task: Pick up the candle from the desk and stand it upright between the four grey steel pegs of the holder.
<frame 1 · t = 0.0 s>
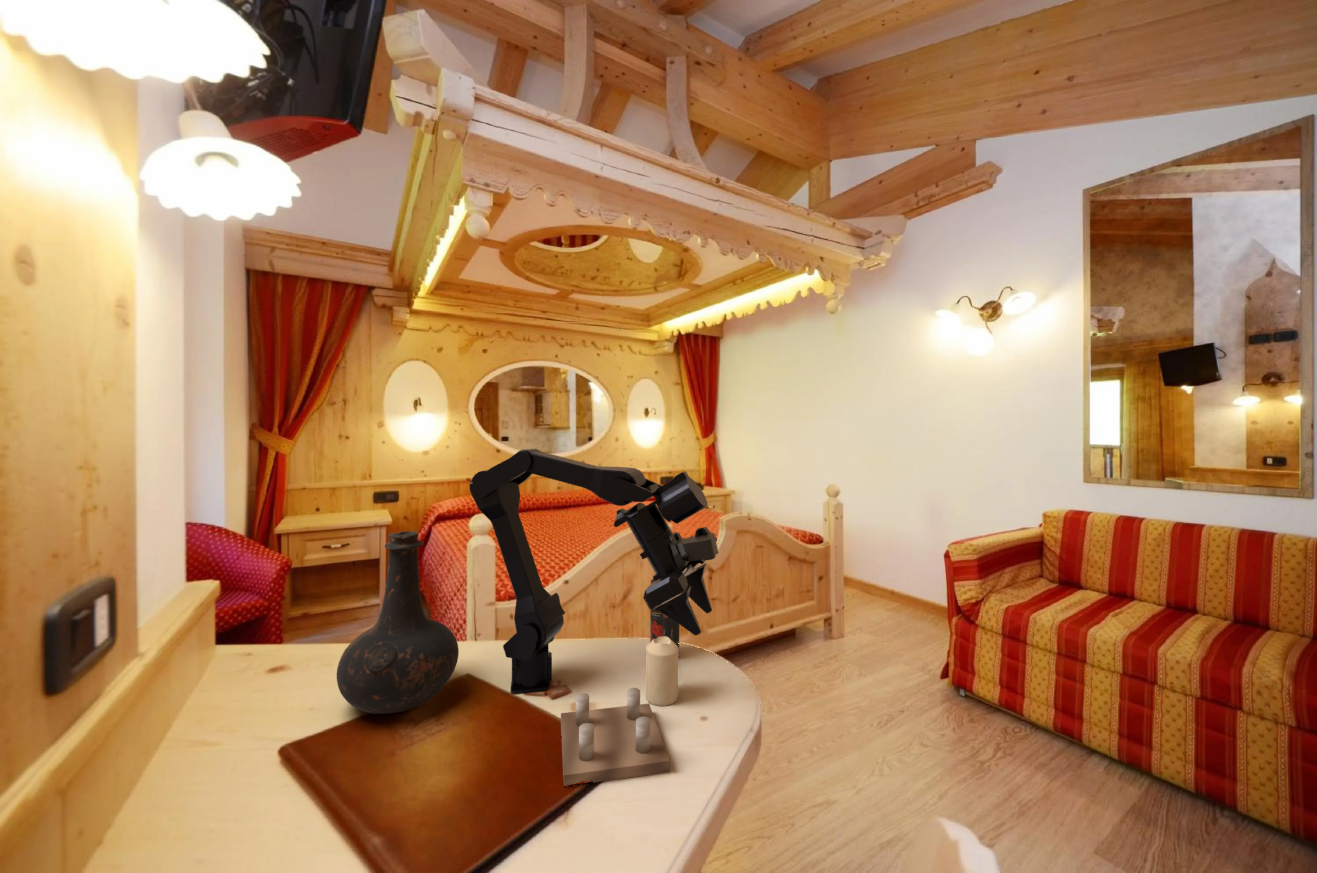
hand: (704, 622, 81), 15 cm above the table, tool tilted 35°, fingers open, 9 cm apart
glass bottle: (400, 700, 84), on the table
deodorant: (664, 656, 101), on the table
peg holder: (611, 745, 73), on the table
candle: (661, 698, 86), on the table
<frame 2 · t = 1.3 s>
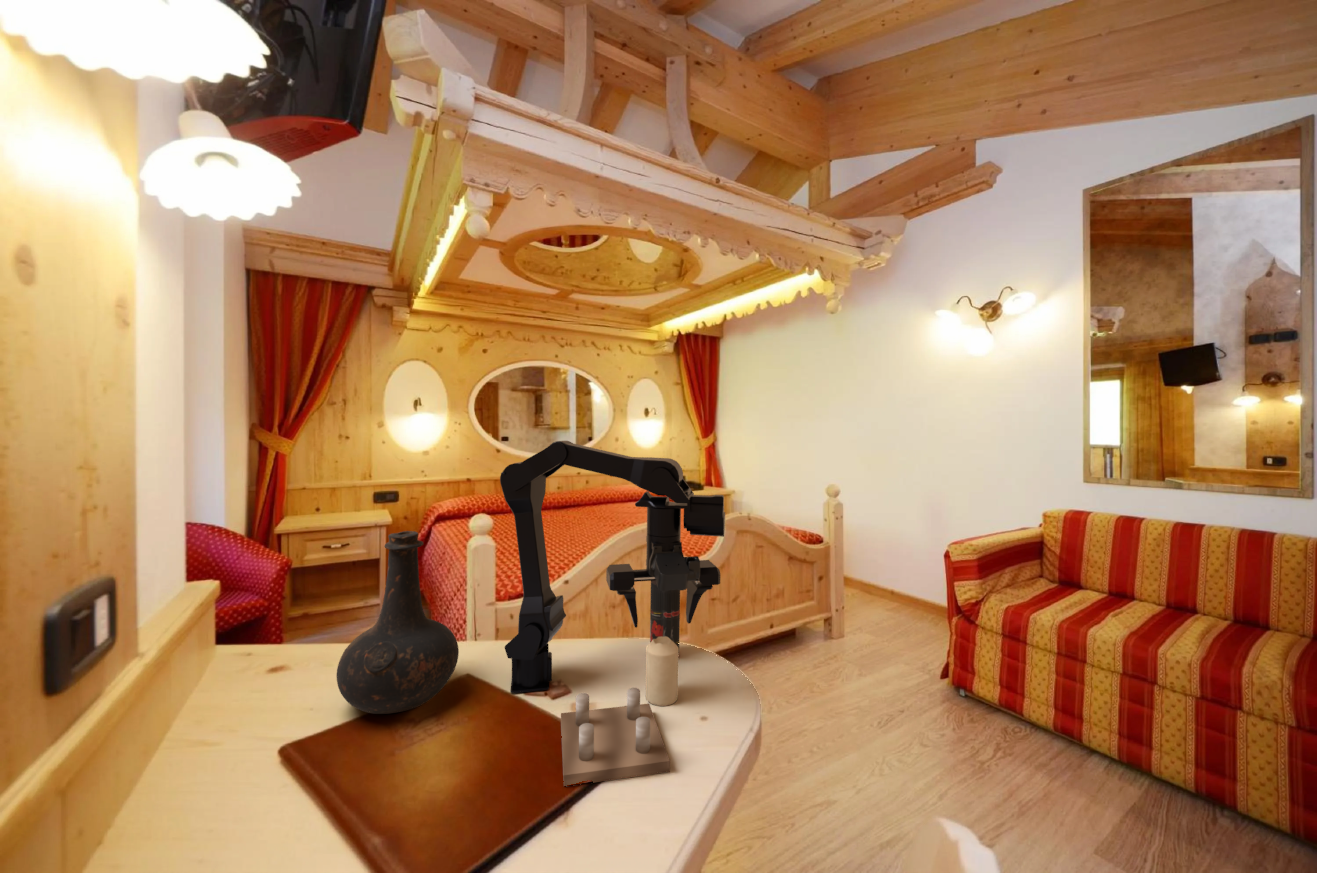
hand: (662, 624, 85), 13 cm above the table, tool pointing down, fingers open, 9 cm apart
nothing on the table moved.
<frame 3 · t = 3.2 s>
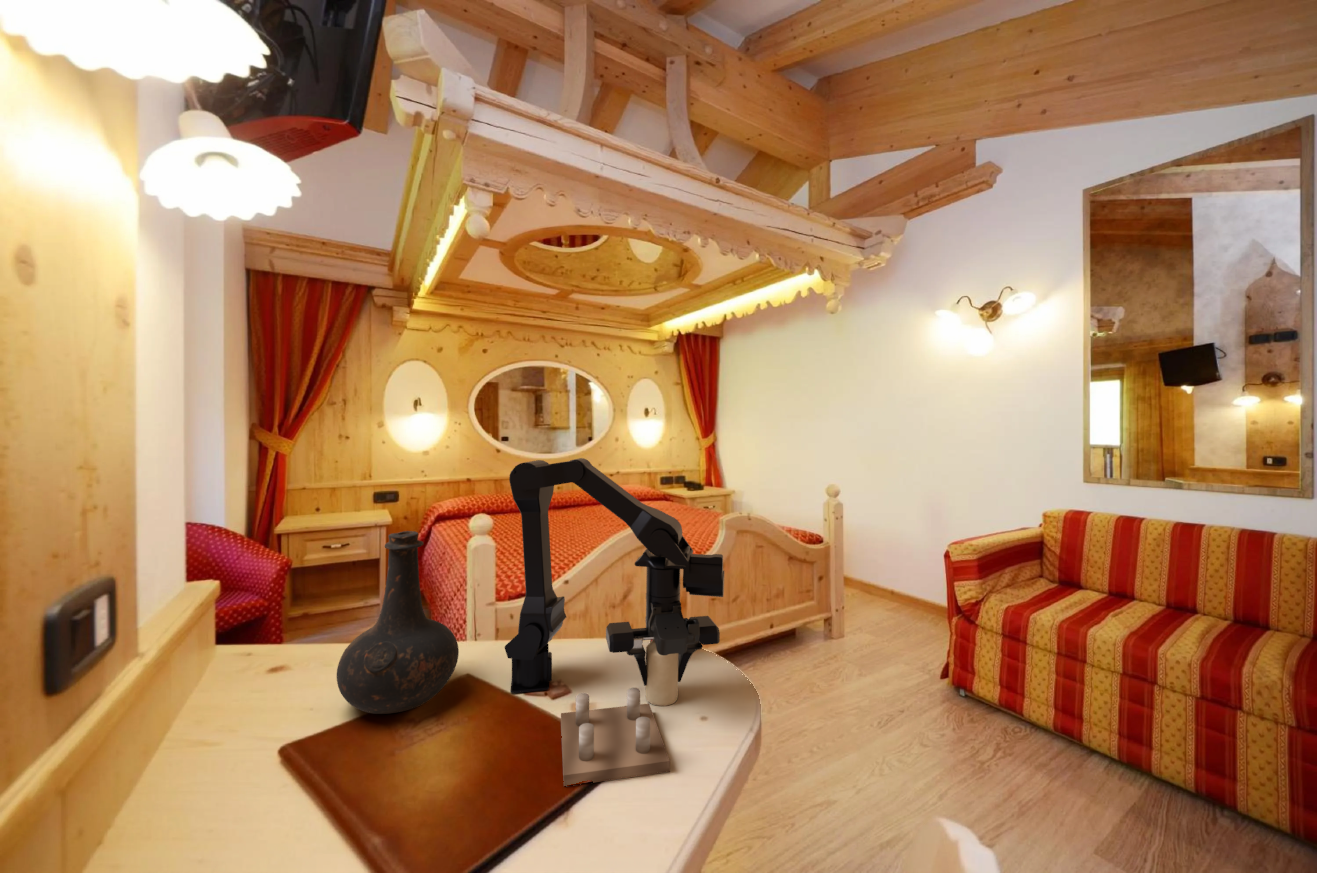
hand: (661, 682, 86), 3 cm above the table, tool pointing down, fingers closed on candle, 5 cm apart
candle: (661, 698, 86), on the table, touching gripper
everything else where it was.
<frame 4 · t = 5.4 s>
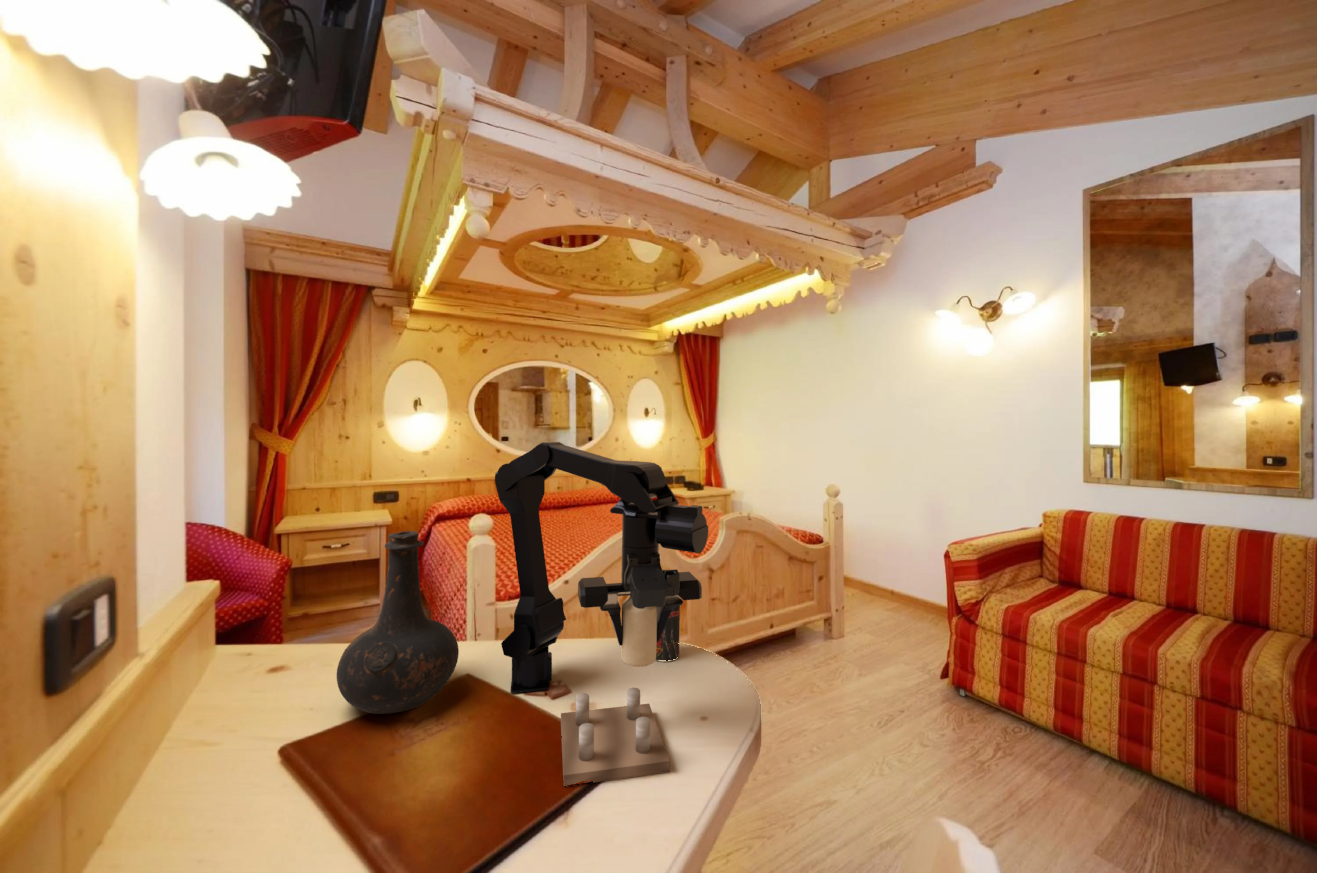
hand: (638, 642, 79), 12 cm above the table, tool pointing down, fingers closed on candle, 5 cm apart
candle: (638, 660, 79), point 10 cm above the table, touching gripper
everything else where it was.
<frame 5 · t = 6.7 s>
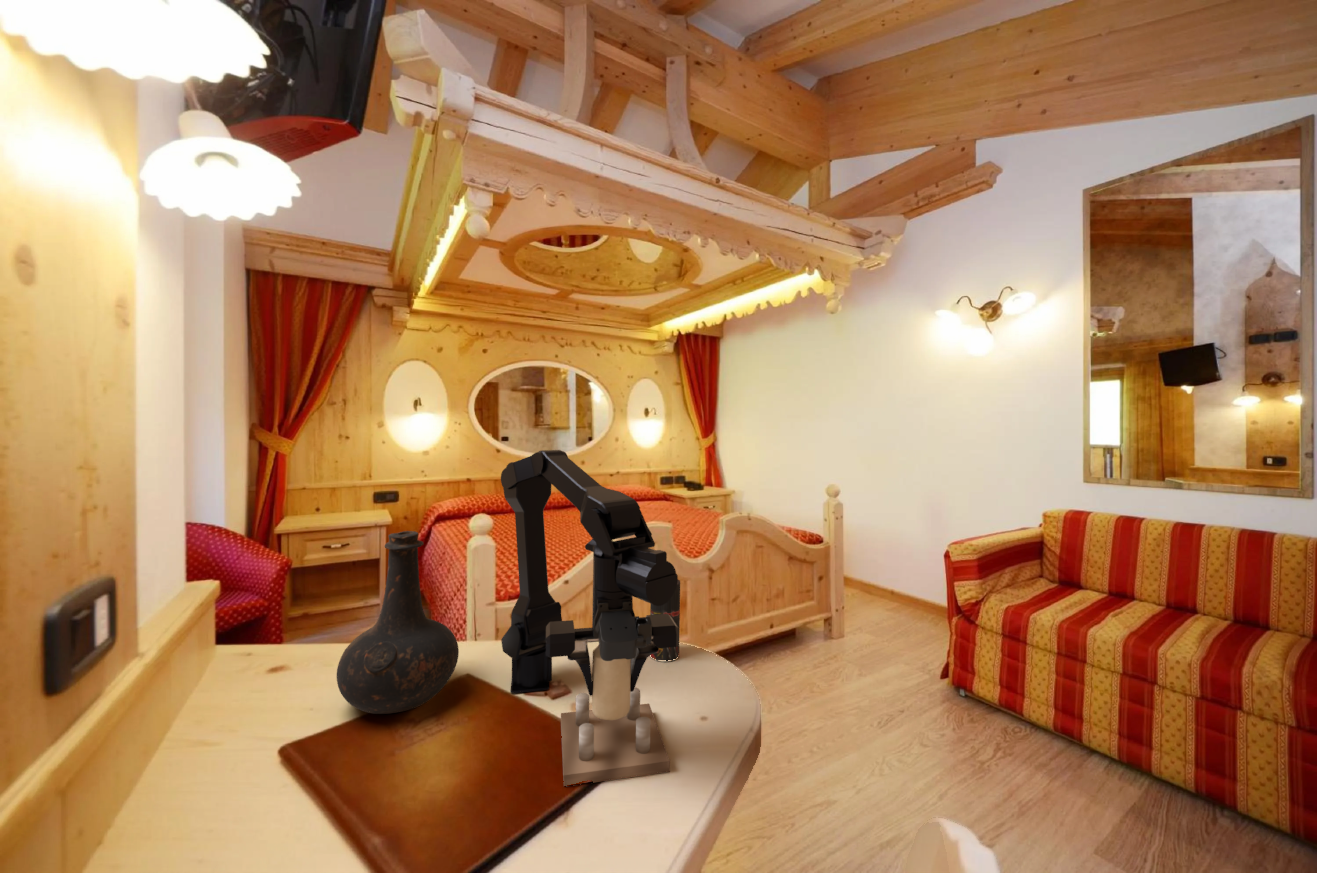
hand: (611, 692, 73), 8 cm above the table, tool pointing down, fingers closed on candle, 5 cm apart
candle: (611, 711, 73), point 5 cm above the table, touching gripper
everything else where it was.
when the fingers open (6 cm above the table, at t = 7.9 s): candle drops 2 cm, resting on peg holder.
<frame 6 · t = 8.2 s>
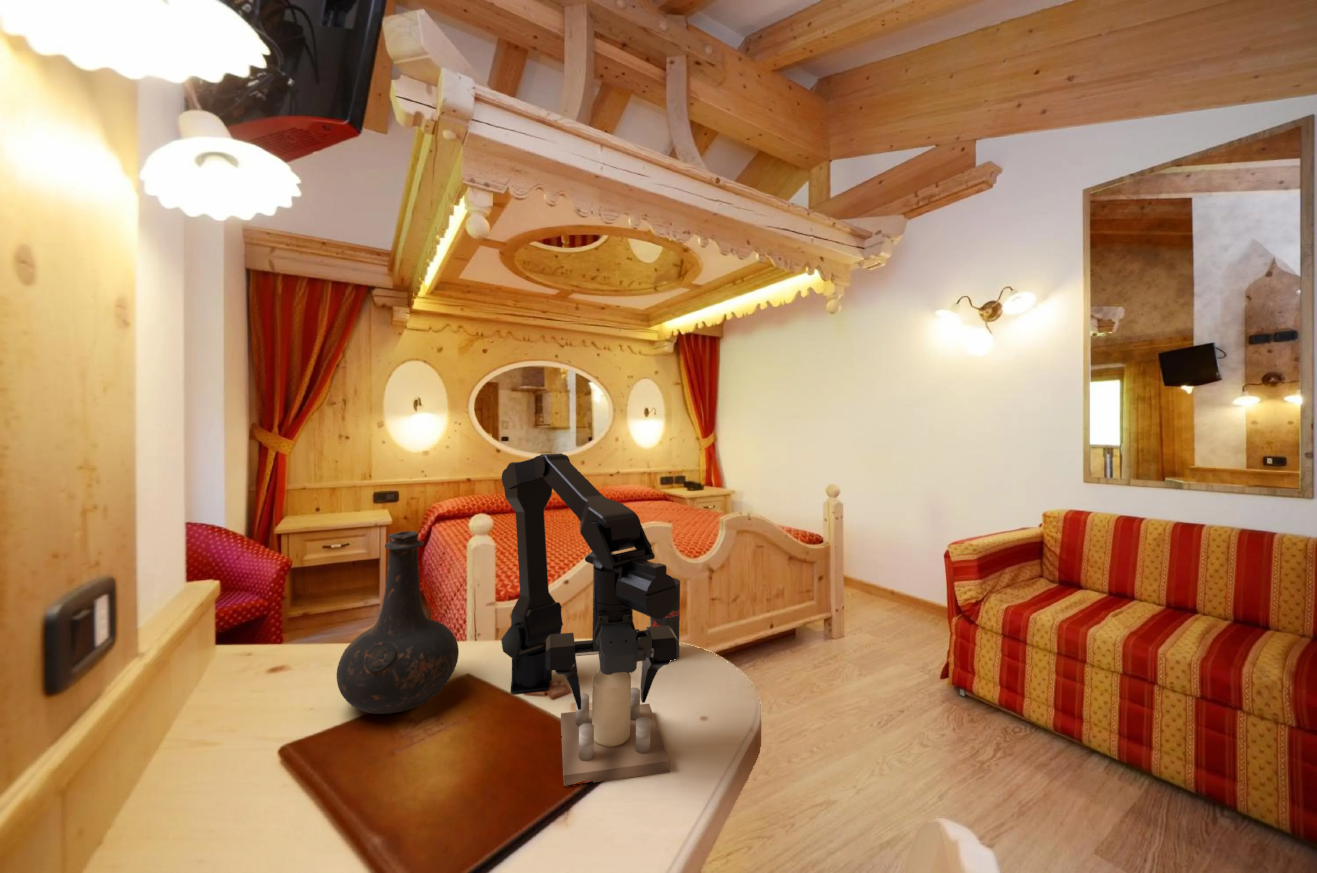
hand: (611, 704, 73), 6 cm above the table, tool pointing down, fingers open, 9 cm apart
candle: (611, 736, 73), point 1 cm above the table, touching peg holder
everything else where it was.
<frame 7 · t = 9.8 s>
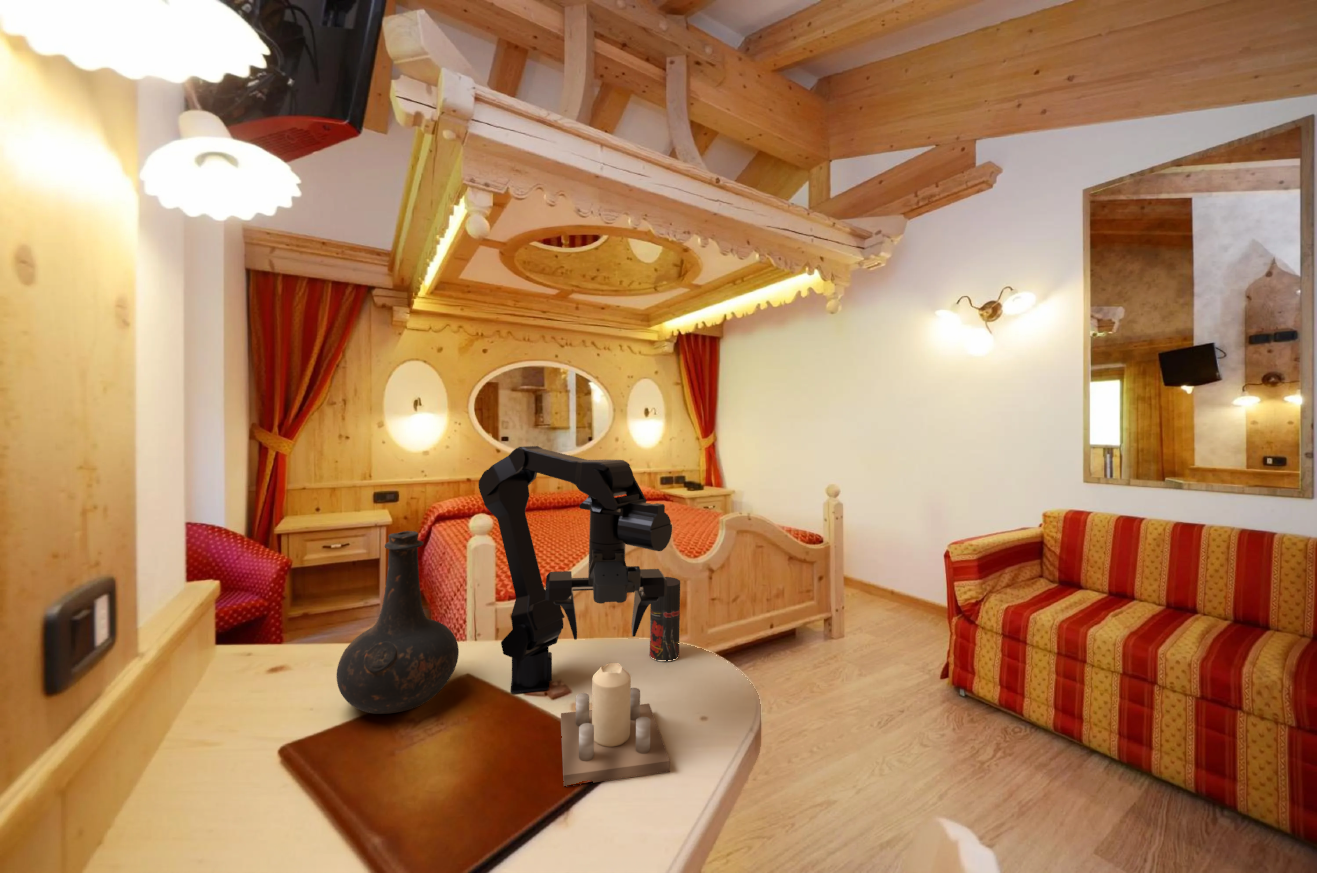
hand: (604, 637, 80), 13 cm above the table, tool pointing down, fingers open, 9 cm apart
nothing on the table moved.
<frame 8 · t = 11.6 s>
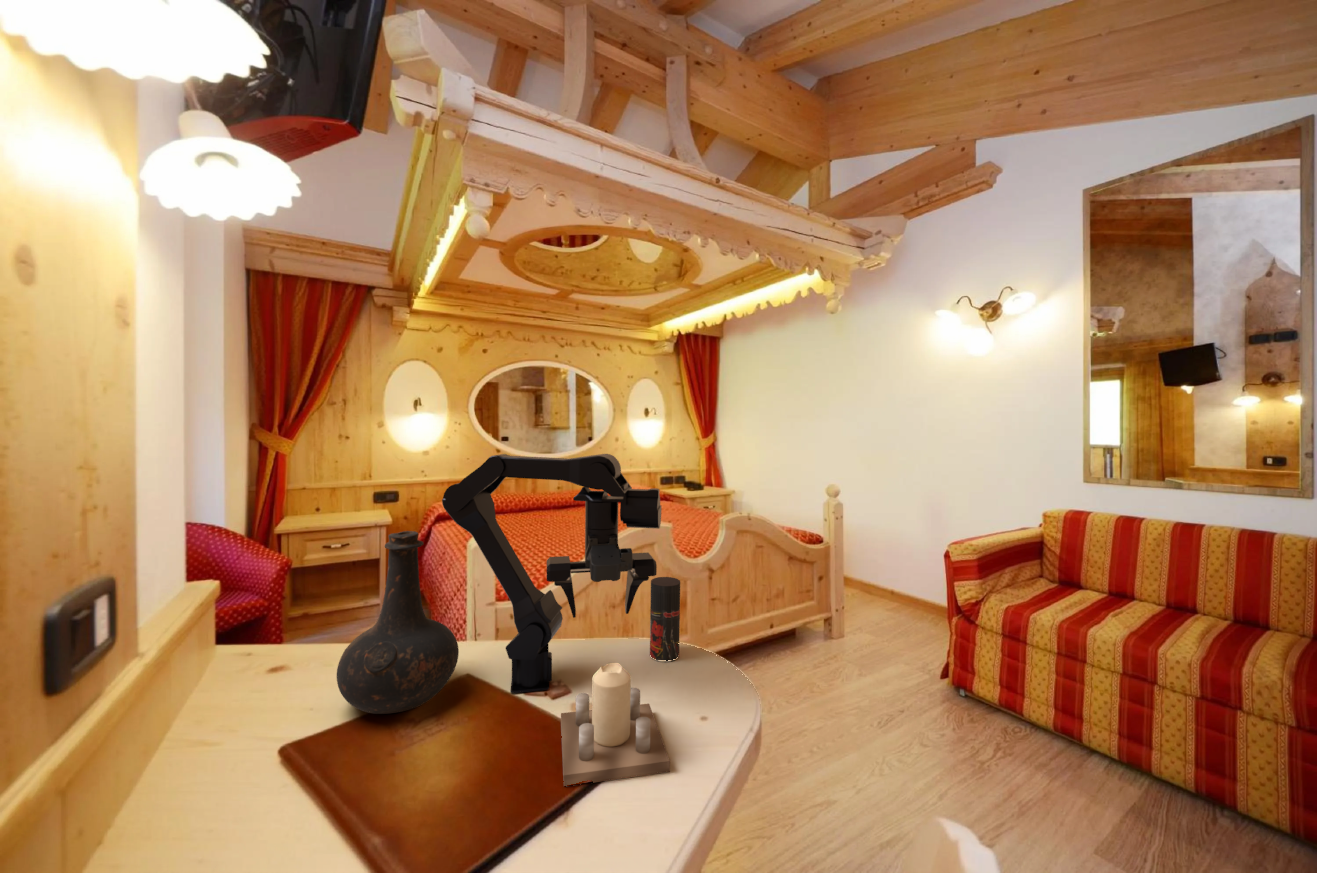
hand: (600, 615, 88), 13 cm above the table, tool pointing down, fingers open, 9 cm apart
nothing on the table moved.
at the end: candle 0.0 cm off-centre on the peg holder, point 1.3 cm above the peg holder's base; candle tilted 0°; the gripper is holding nothing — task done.
